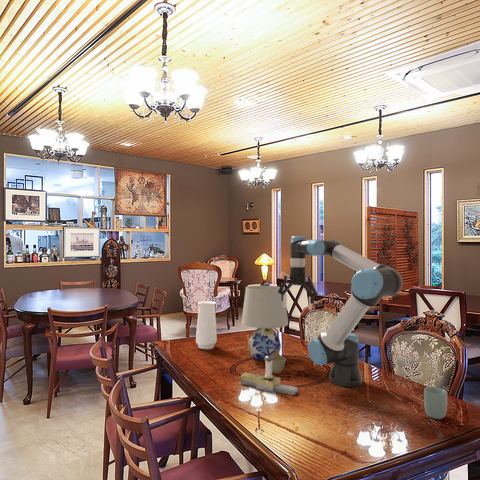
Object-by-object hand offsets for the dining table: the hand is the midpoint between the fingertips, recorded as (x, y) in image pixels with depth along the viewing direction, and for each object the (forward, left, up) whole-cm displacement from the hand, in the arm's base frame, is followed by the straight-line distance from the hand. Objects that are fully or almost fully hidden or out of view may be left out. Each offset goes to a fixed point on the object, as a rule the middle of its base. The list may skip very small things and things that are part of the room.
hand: (297, 308), depth 193 cm
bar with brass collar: (+4, +25, -33) cm, 41 cm away
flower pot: (+10, +3, -33) cm, 35 cm away
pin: (+4, +25, -33) cm, 41 cm away
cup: (-63, +19, -33) cm, 74 cm away
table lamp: (+27, -19, -33) cm, 47 cm away
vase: (+67, -18, -33) cm, 77 cm away
